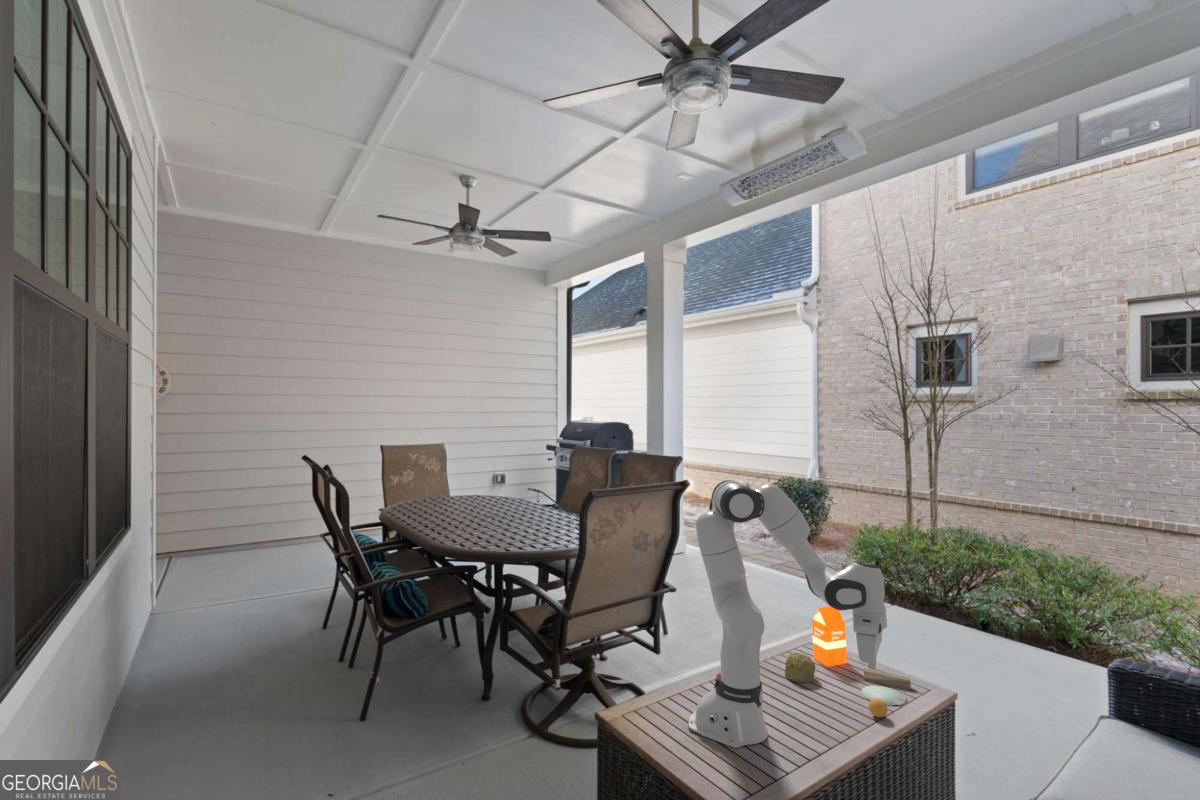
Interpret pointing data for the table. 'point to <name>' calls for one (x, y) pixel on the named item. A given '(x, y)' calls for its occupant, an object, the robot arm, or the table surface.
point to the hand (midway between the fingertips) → (872, 667)
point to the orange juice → (829, 637)
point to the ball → (878, 708)
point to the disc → (882, 694)
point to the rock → (799, 668)
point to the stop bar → (887, 679)
